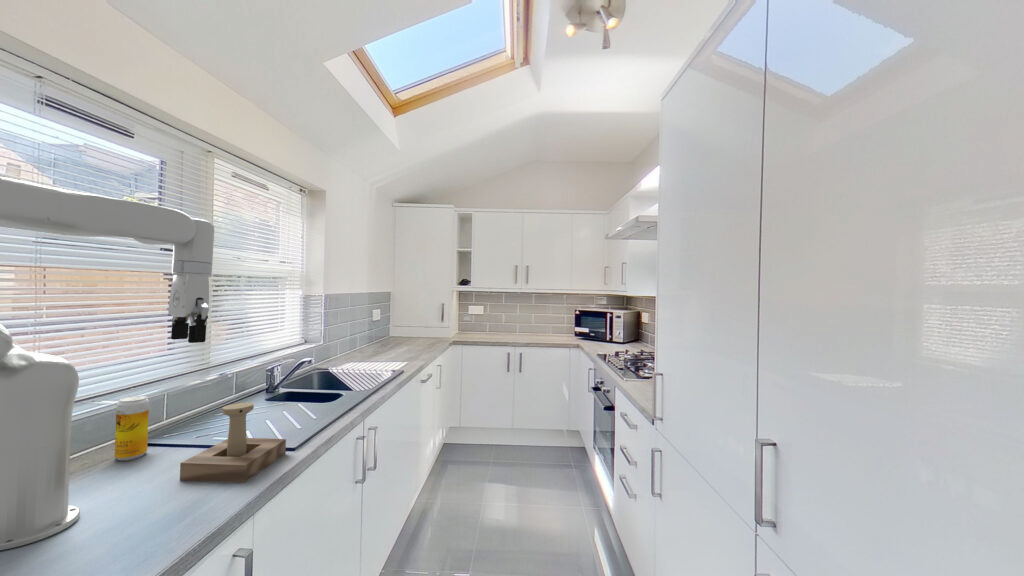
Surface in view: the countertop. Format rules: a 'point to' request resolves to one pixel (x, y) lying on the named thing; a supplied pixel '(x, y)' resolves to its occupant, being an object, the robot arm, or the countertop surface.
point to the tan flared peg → (237, 428)
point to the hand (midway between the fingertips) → (187, 340)
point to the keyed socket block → (232, 461)
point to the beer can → (131, 427)
